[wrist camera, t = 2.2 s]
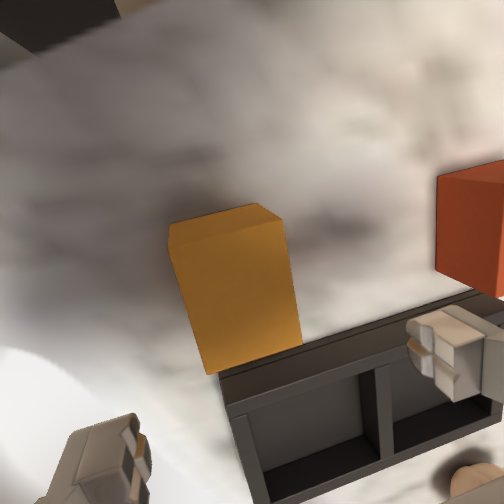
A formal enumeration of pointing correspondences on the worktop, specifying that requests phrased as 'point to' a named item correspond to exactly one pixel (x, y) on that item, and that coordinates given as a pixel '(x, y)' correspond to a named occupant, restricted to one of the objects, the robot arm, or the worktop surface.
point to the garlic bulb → (473, 477)
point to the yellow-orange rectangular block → (236, 285)
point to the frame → (346, 407)
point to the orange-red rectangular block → (472, 227)
